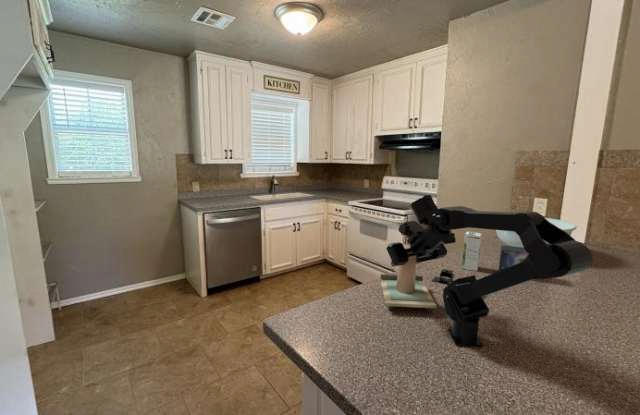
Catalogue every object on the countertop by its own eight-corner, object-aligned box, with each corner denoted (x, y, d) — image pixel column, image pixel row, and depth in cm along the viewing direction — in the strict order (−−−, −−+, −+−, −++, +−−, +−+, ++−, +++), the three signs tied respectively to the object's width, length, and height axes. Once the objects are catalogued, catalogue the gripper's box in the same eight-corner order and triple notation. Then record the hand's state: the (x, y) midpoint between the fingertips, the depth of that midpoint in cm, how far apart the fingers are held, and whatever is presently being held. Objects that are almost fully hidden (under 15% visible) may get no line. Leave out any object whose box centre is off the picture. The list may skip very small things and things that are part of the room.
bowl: (474, 245, 152) (477, 217, 149) (522, 239, 161) (525, 213, 159) (536, 266, 122) (541, 232, 119) (590, 258, 131) (595, 226, 129)
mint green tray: (435, 314, 85) (436, 300, 84) (386, 312, 86) (386, 298, 86) (421, 287, 103) (422, 275, 102) (380, 286, 104) (380, 274, 103)
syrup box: (463, 264, 124) (465, 231, 122) (478, 267, 121) (481, 232, 119) (461, 268, 120) (464, 234, 117) (478, 271, 117) (481, 235, 114)
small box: (499, 275, 113) (501, 249, 111) (498, 269, 118) (500, 244, 117) (533, 280, 108) (536, 253, 106) (530, 274, 114) (533, 248, 112)
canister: (414, 287, 96) (416, 245, 94) (415, 294, 91) (417, 250, 88) (396, 285, 97) (398, 243, 95) (396, 292, 92) (397, 248, 90)
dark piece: (426, 282, 108) (427, 270, 108) (431, 275, 114) (432, 264, 114) (463, 290, 101) (464, 278, 101) (467, 283, 107) (468, 271, 107)
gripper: (442, 211, 90) (415, 238, 102) (391, 216, 83) (369, 244, 95) (461, 243, 84) (431, 267, 96) (408, 251, 77) (382, 276, 89)
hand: (403, 263), depth 94 cm, fingers open, 9 cm apart
